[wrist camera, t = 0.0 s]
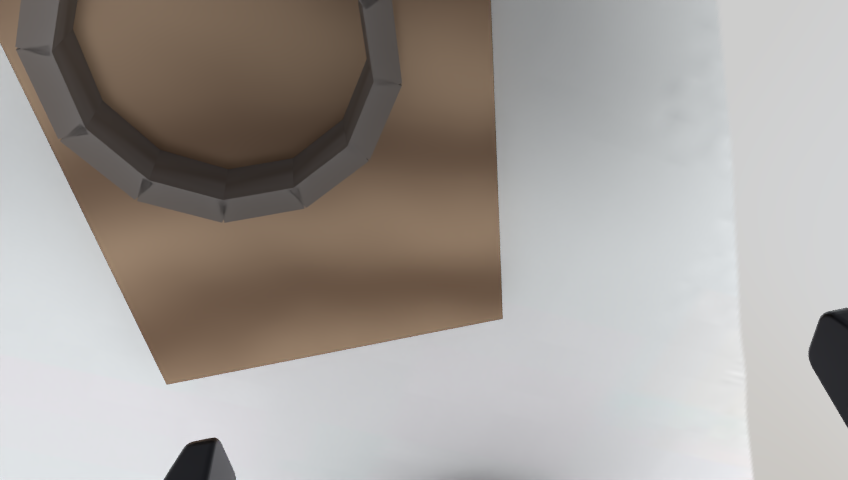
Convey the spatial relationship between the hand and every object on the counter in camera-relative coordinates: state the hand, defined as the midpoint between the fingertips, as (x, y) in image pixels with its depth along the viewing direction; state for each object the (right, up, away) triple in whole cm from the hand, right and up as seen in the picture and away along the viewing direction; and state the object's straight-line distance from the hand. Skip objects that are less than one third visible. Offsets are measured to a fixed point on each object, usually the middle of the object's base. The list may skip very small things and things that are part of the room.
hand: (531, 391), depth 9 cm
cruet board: (-6, +6, +13) cm, 15 cm away
